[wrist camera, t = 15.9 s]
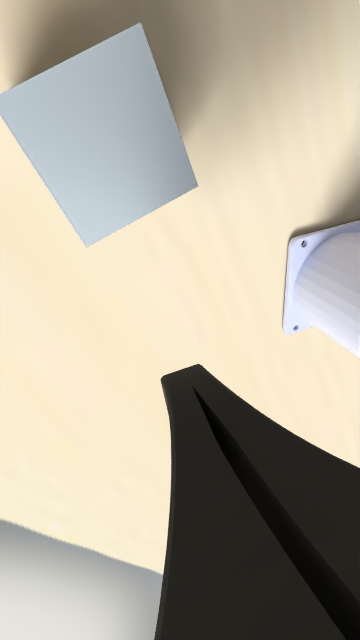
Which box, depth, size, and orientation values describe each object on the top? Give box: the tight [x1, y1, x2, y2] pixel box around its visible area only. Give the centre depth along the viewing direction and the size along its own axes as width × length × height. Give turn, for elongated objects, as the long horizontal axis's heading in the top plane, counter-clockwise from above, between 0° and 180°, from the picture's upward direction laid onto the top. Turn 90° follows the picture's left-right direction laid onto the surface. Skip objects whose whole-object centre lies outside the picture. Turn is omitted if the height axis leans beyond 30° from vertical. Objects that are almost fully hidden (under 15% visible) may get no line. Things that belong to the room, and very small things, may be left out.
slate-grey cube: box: [0, 22, 198, 247], centre depth 12 cm, size 5×5×5 cm
